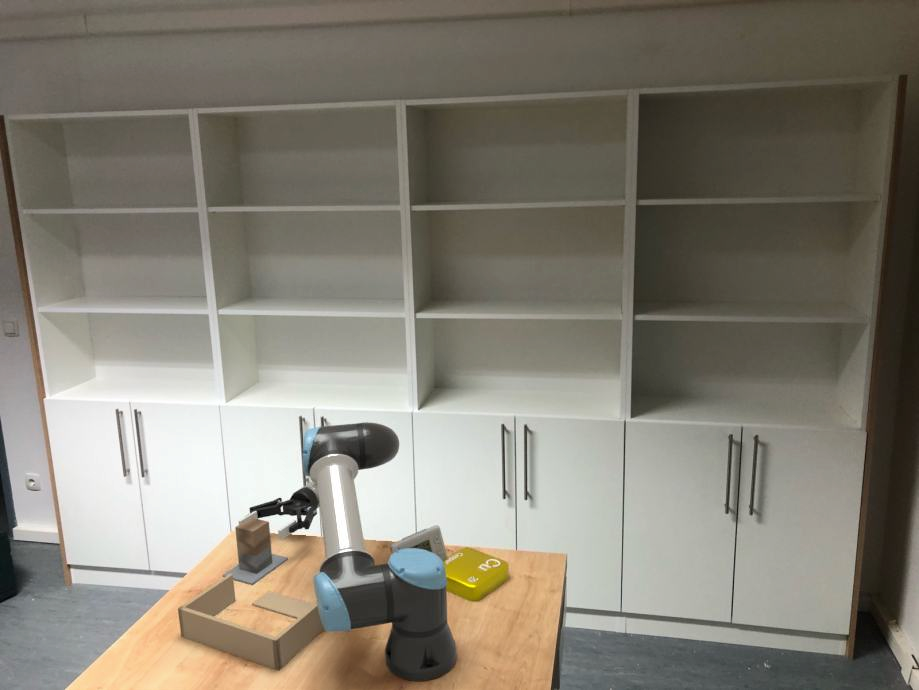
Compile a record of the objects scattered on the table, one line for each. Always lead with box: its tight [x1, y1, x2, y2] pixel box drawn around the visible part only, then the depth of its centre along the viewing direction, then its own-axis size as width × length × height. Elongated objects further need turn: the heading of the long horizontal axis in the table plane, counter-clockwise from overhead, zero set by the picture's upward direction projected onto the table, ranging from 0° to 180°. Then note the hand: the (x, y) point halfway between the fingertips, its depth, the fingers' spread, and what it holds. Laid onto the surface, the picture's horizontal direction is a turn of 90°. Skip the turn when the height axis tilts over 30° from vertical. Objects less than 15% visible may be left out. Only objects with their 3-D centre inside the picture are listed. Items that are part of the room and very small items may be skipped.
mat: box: [222, 553, 289, 586], centre depth 188 cm, size 10×14×1 cm
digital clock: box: [389, 524, 449, 561], centre depth 183 cm, size 16×9×11 cm, turn 120°
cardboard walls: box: [177, 574, 326, 671], centre depth 162 cm, size 28×22×7 cm
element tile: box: [443, 546, 510, 602], centre depth 179 cm, size 15×15×5 cm
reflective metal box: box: [234, 518, 273, 574], centre depth 187 cm, size 6×6×12 cm
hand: (259, 530), depth 189 cm, fingers open, 13 cm apart
